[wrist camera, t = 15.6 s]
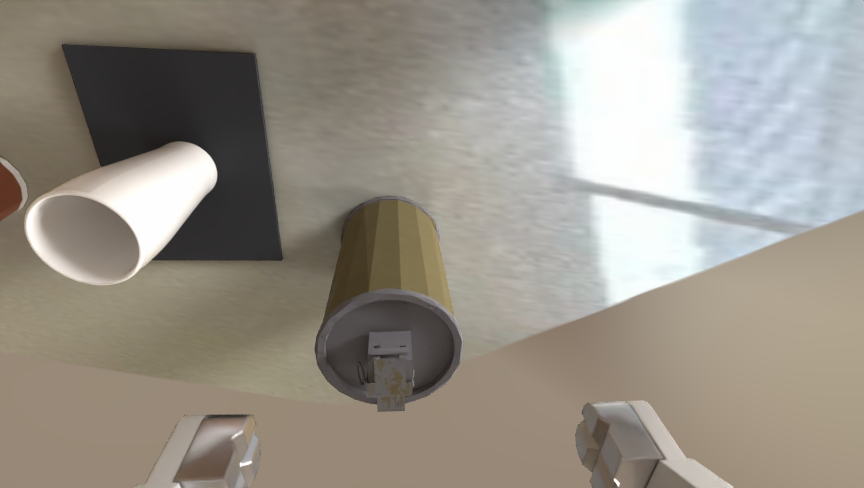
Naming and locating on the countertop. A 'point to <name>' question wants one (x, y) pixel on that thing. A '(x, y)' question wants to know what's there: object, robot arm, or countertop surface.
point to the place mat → (188, 136)
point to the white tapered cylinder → (119, 213)
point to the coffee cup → (11, 190)
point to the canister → (389, 308)
